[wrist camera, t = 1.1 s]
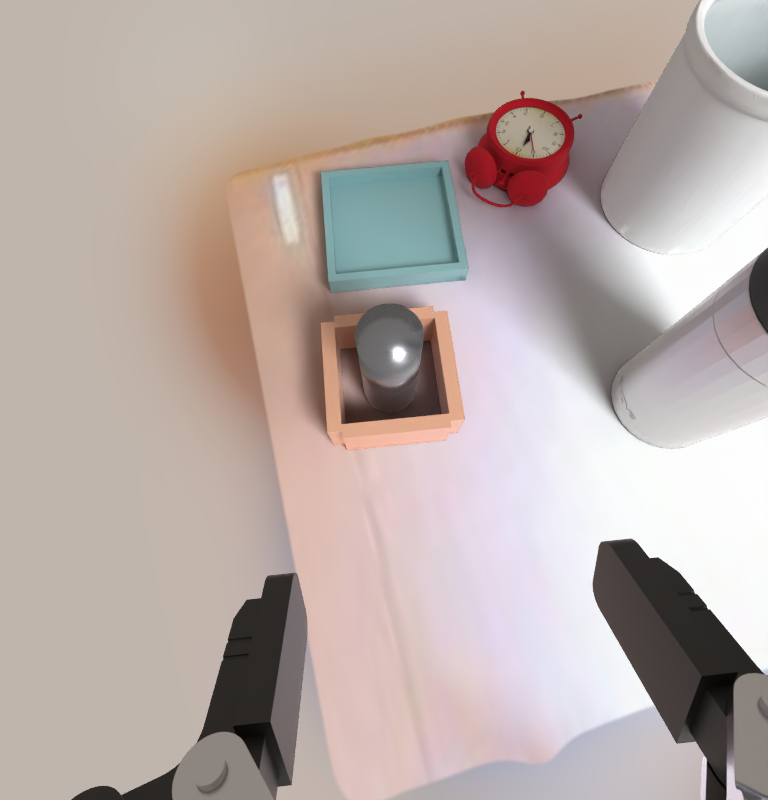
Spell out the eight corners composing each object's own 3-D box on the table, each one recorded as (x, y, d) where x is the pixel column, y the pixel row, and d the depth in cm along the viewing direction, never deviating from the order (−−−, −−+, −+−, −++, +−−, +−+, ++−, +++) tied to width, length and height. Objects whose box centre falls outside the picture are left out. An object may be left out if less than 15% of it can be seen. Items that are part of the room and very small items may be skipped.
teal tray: (446, 174, 51) (448, 160, 49) (465, 279, 47) (468, 268, 45) (323, 186, 51) (320, 171, 49) (330, 292, 46) (328, 281, 44)
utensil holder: (757, 251, 47) (955, 87, 31) (619, 272, 47) (745, 117, 30) (702, 146, 52) (848, -46, 35) (577, 163, 51) (665, -22, 35)
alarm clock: (598, 112, 49) (553, 178, 42) (572, 166, 55) (528, 233, 47) (512, 78, 51) (455, 136, 44) (495, 134, 56) (442, 193, 49)
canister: (413, 360, 44) (419, 300, 33) (419, 409, 42) (428, 362, 32) (361, 365, 44) (352, 307, 33) (366, 414, 42) (357, 369, 32)
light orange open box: (441, 328, 45) (446, 304, 41) (458, 439, 41) (466, 425, 37) (327, 339, 45) (320, 316, 40) (334, 451, 41) (327, 439, 37)
